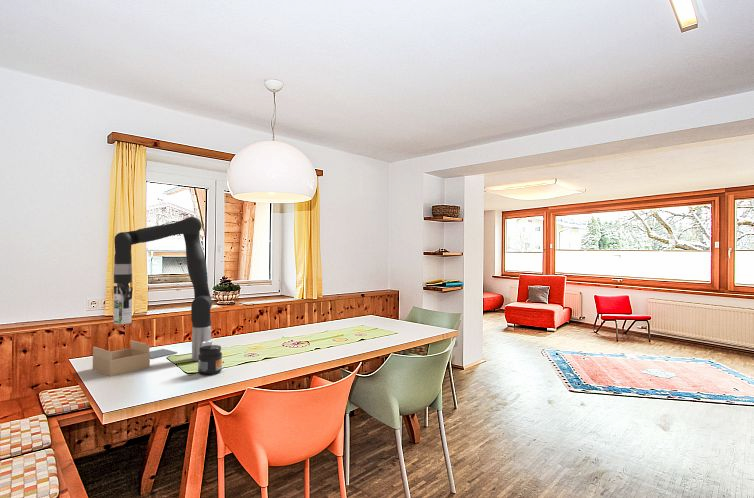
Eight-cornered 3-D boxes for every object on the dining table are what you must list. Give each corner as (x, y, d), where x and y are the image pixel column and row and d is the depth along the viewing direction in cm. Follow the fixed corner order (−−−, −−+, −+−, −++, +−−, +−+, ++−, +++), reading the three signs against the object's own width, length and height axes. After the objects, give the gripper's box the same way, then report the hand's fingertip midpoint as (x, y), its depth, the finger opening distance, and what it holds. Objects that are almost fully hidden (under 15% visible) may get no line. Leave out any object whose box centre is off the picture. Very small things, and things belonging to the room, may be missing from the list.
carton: (149, 367, 196) (149, 344, 196) (110, 376, 181) (110, 352, 181) (131, 361, 206) (131, 340, 206) (92, 369, 191) (92, 346, 191)
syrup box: (112, 323, 193) (113, 293, 193) (125, 321, 198) (125, 292, 198) (119, 324, 190) (120, 294, 190) (132, 322, 195) (132, 293, 195)
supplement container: (226, 370, 192) (226, 345, 192) (213, 376, 182) (213, 350, 182) (206, 368, 194) (207, 344, 194) (192, 375, 184) (193, 349, 184)
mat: (177, 353, 222) (177, 352, 222) (151, 358, 211) (151, 357, 211) (163, 349, 230) (163, 348, 230) (138, 355, 218) (138, 353, 218)
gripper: (138, 273, 193) (138, 308, 193) (123, 272, 201) (123, 305, 201) (121, 274, 187) (121, 310, 187) (107, 273, 195) (107, 307, 195)
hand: (122, 307), depth 194 cm, fingers closed on syrup box, 6 cm apart
